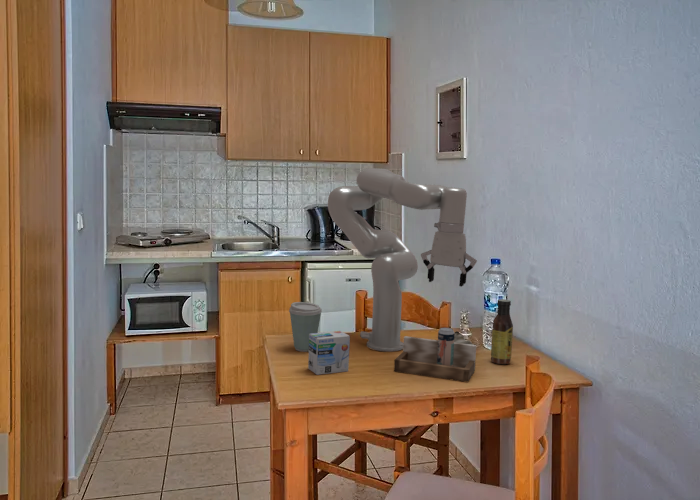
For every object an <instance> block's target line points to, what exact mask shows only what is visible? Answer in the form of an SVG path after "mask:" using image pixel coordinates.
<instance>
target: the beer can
mask: <svg viewBox="0 0 700 500" xmlns="http://www.w3.org/2000/svg"><path fill="white" fill-rule="evenodd" d="M454 335H455V331H454V329H453V328H451V327H440V328H439V330H438V331H437V340H438V348H437V364H439V365H446V366H453V356H454Z"/></svg>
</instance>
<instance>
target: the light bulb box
mask: <svg viewBox="0 0 700 500" xmlns="http://www.w3.org/2000/svg"><path fill="white" fill-rule="evenodd" d="M350 339H351V337H350V335H349V334H347V333H345V332H344V331H342V330H334V331H323V332H318V333H311V334H309V352H308V360H307V361H308V364H307V365H308V366H307V369H308V370H310V371H311V372H312V373H314V374H315V375H316V376H318V375H328V374H334V373H335V374H337V373H344V372H349V363H350V341H351V340H350Z"/></svg>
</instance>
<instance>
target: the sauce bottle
mask: <svg viewBox="0 0 700 500" xmlns="http://www.w3.org/2000/svg"><path fill="white" fill-rule="evenodd" d="M511 301H512V300H511V299H503V298H501V299H497V301H496V302H497V311H496V313H497V314H496V315H495V317H494V319H493V320H492V331H491V345H490V346H491V348H490V350H491V351H490V356H491V358H490V361H491V362H492V363H494V364H497V365H508V364H510V363H511V360H512V351H513V349H512V347H513V334H514V333H513V332H514V331H513V330H514V323H513V321H512V318H511V313H510V312H511V311H510V310H511V308H510V307H511V305H512V304H511V303H512V302H511Z"/></svg>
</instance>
